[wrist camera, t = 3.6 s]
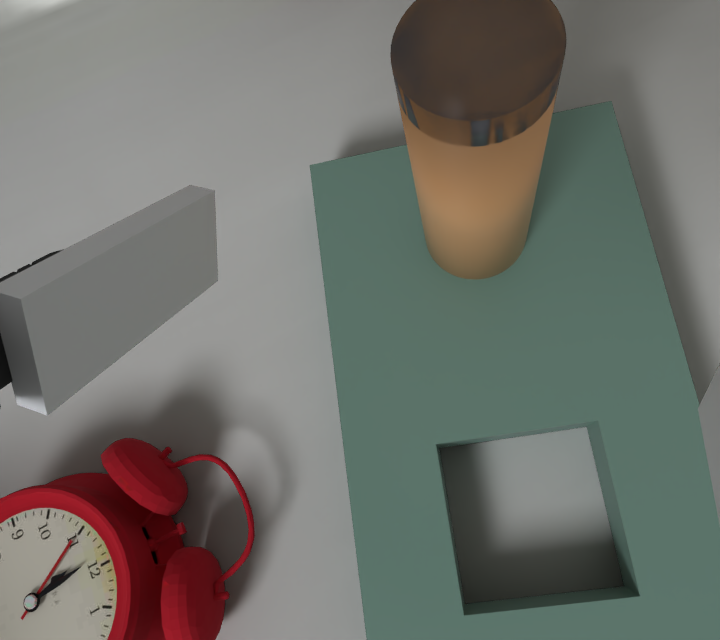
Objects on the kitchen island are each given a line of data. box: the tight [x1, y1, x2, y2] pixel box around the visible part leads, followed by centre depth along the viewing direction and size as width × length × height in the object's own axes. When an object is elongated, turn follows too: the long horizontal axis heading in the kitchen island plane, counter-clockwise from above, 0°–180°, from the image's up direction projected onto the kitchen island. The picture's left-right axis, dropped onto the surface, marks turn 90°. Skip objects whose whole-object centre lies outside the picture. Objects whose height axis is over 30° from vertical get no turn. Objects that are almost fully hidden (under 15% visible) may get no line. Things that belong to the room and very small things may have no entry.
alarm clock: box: [0, 438, 255, 640], centre depth 27 cm, size 10×6×15 cm
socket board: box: [310, 101, 720, 640], centre depth 27 cm, size 22×14×2 cm, turn 8°
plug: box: [391, 0, 566, 279], centre depth 21 cm, size 4×4×12 cm
